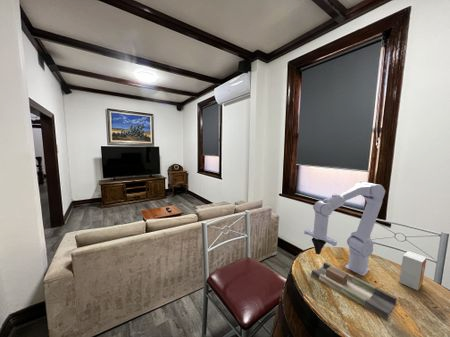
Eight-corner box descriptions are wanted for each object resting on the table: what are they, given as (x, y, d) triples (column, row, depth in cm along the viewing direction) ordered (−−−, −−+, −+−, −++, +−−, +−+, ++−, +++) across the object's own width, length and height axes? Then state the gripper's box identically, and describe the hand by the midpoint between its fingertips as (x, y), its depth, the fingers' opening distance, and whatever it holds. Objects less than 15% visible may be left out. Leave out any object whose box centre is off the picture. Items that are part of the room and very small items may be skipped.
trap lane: (324, 266, 93) (325, 261, 92) (396, 303, 71) (396, 297, 71) (311, 275, 85) (311, 270, 85) (386, 320, 63) (387, 313, 63)
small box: (418, 291, 79) (422, 262, 77) (398, 282, 84) (402, 255, 83) (422, 284, 83) (427, 257, 82) (403, 276, 88) (407, 250, 87)
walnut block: (330, 273, 87) (331, 265, 86) (347, 282, 81) (348, 273, 81) (325, 277, 84) (326, 268, 83) (342, 286, 78) (343, 277, 78)
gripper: (302, 222, 91) (299, 248, 92) (333, 234, 79) (329, 263, 81) (309, 220, 95) (307, 245, 96) (339, 230, 84) (336, 259, 85)
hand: (317, 253), depth 89 cm, fingers closed
